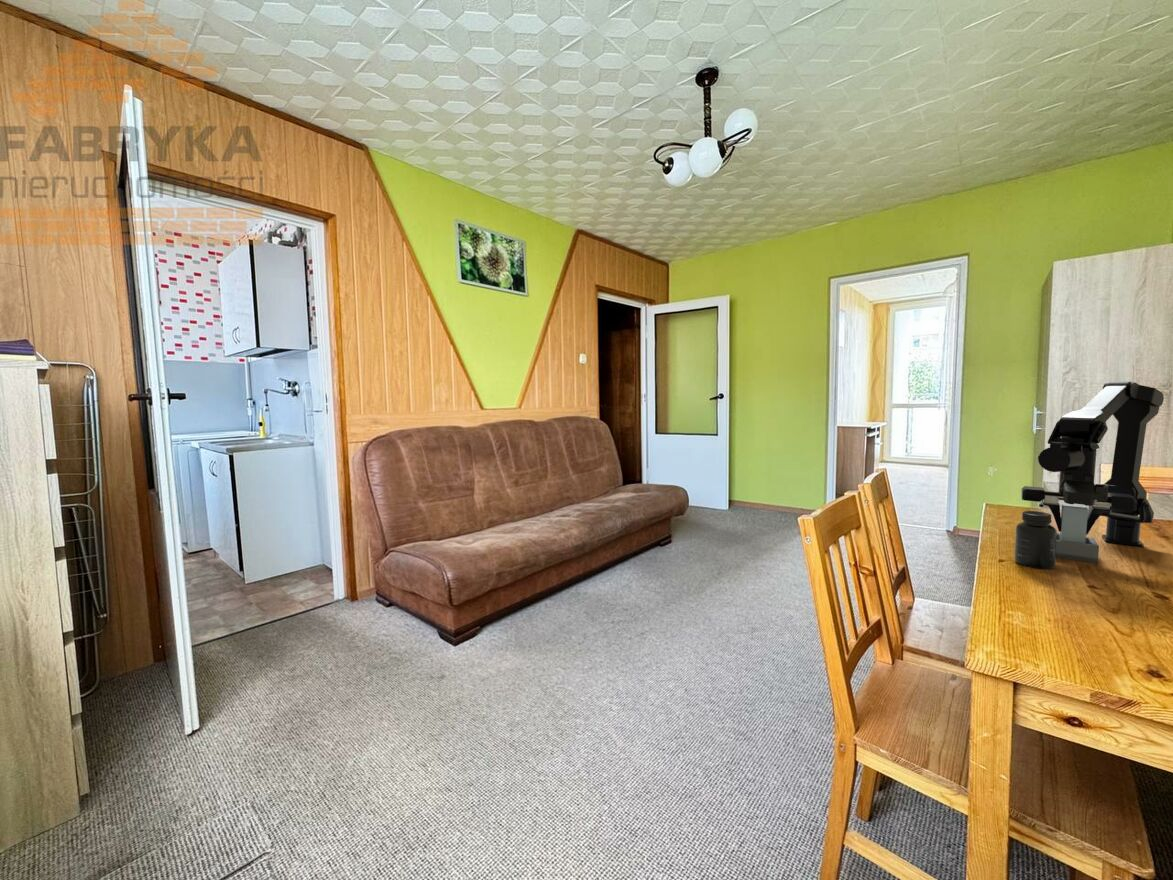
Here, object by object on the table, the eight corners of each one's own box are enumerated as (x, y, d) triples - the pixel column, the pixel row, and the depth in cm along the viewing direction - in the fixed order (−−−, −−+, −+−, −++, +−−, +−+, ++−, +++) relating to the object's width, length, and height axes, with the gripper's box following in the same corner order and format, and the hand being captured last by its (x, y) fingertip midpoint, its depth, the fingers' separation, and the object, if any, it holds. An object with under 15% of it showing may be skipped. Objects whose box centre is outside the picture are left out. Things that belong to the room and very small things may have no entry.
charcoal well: (1046, 547, 119) (1047, 532, 119) (1092, 553, 114) (1093, 537, 113) (1048, 556, 113) (1050, 539, 113) (1097, 563, 108) (1099, 546, 107)
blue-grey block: (1059, 543, 116) (1061, 503, 115) (1082, 546, 113) (1085, 505, 112) (1060, 547, 113) (1063, 506, 112) (1084, 551, 110) (1088, 509, 109)
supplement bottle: (1037, 559, 111) (1041, 509, 110) (1063, 569, 104) (1067, 517, 103) (1006, 558, 112) (1009, 509, 111) (1030, 569, 105) (1033, 517, 104)
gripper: (1025, 469, 111) (1020, 534, 113) (1145, 477, 99) (1139, 549, 101) (1023, 463, 120) (1019, 523, 121) (1134, 470, 108) (1128, 536, 109)
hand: (1072, 532), depth 113 cm, fingers closed on blue-grey block, 4 cm apart
